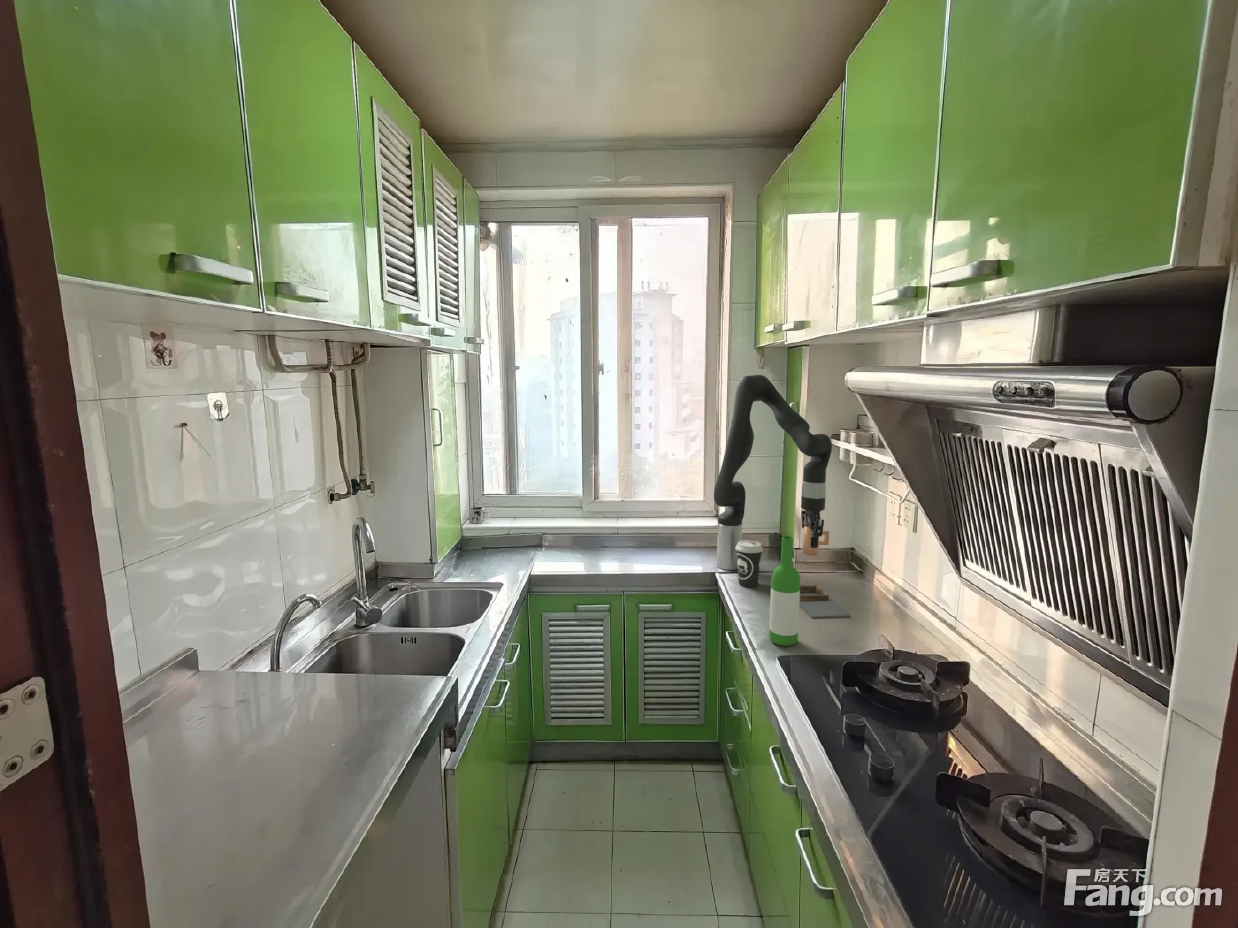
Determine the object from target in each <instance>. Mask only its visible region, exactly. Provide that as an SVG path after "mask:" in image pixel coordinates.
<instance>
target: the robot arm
mask: <svg viewBox="0 0 1238 928" xmlns="http://www.w3.org/2000/svg"><path fill="white" fill-rule="evenodd" d="M733 402H734V404H733V412H732V418H731V422H730V428H729V431H728V437H727V440H726V445H725V451H724V455H723V458H722V459H723V460H722V464H721V467H720V471H719V474H718V476H717V480H716V483H715V485H714V490H713V501H714V503H715V505H716V506H718V507H720V508H725V507H727V508H726V510H725V511H723V512H722V513H720V514H718V516H717V541H716V544H717V545H716V546H717V547H716V567H717V568H718V569H722V570H728V571H731V570H732V571H735V570H738V561H737V550H736V549H735V548H736V545H737V544H738V542H739V541H743V540H742V537H743V519H744V517H745V511H746V510H745V509H746V508H745V507H746V497H747V496H746V489H745V486H744V485H743V482H740V481H738V480H737V481H734V479H735V476H736V474H737V473H738V471H739V470H740V469H741V468H742V466H744V464H745V463H746V461H747V460H748V459H749V457H750V456H751V452H752V449H753V444H754V442H755V441H754V440H755V433H754V430H753V427H752V422H751V411H752V407H753V404H754V403H755V402H762V403H764V404H765V405H766V406H768V407H769V408H770V409H771V411H772V413H773V415H774V417H775V421H776V422H777V424H778V425H779V427H780V428H781V429H782V430H783V431H784V432H785V433H787V435H788V436H789V437H791V438H792V441H793V442H794V444H795V446H796V447H797V449H798V450H799V451H800V452H801V453H802V454H803V455H805V456H807V457H810V460H809V462H807V463H805V465H804V466H803V470H802V471H803V476H802V484H801V485H802V486H801V498H800V503H801V504H800V508H801V509H802V510H801V513H800V514H801V527H802V529H804V526H809V529H810V530H811V547H812V548H817V547H818V537H819V538H820V537H822V536H823V535H822V532H823V531H824V526H825V525H824V524H825V519H821V518H822V517H821V512H822V511H825V510H826V497H827V496H826V494H827V486H826V481H827V480H826V479H827V478H826V477H827V469H828V464H829V462H830V458H831V454H832V451H833V444H832V440H831V438H830V437H829V435H827V434H825V433H816V434H813V433H811V432H810V428H811V427H810V424H809V423H808V421H807V420H806V419H804V418H803V417H802V416H801V415H800V414H799V413H798V412H796V410H795V409H794V408H792V406H791V405H790V404H789V403H788V402H787V401H786V400H785V398H784V397H783V396H782V394H781V393H780V392H779V391H778V390H777V388H776V387H775V385H774V384H773V383H772V382H771V381H770V380H769V378H767V377H766V376H765V375H763V374H755V375H754V374H752V375H744V376H742V377H740V378H739V380H738V382H737V385H736V388H735V394H734V401H733ZM812 526H814V527H812ZM813 530H814V531H813ZM819 530H820V532H819Z"/></svg>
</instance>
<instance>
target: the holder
mask: <svg viewBox="0 0 1238 928" xmlns="http://www.w3.org/2000/svg"><path fill="white" fill-rule="evenodd" d="M800 591H816V592H817V594H804V595H802V594H801V593H800V601H799V602H806V601H829V598H830V596H829V594H828V593H827V592H826V591H825V590H824V589H822V588H821V587H820V586H819V585H818V584H817V585H816V584H814V585H813V584H812V585H811V584H810V585H800ZM816 592H815V593H816Z"/></svg>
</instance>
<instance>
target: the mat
mask: <svg viewBox="0 0 1238 928" xmlns="http://www.w3.org/2000/svg"><path fill="white" fill-rule="evenodd" d="M799 605H800V606H799V608H801V609H802V610H803V611H804V612H805V613H806V614H807V615H808V616H809V617H810V618H811V619H829V618H833V619H834V618H850V617H851V615H850V614H849V613H848V612H847V611H846V610H844V608H842V607H841V606H840V605H839V604H838V603H837V602H836V601H834V600H828V601H806V602H799Z"/></svg>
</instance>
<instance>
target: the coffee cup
mask: <svg viewBox="0 0 1238 928" xmlns="http://www.w3.org/2000/svg"><path fill="white" fill-rule="evenodd" d="M735 549H736V550H737V561H738V569H737V575H738V576H737V577H738V585H739V586H741V587H743V588H756V587H757V586H758V584H759V574H760V567H761V561H762V560H761V559H762V553H763V551H764V548H763V546H762V543H761V542H759V541H757V540H748V539H747V540H742V541H739V542H738V544H737V545H736V548H735Z"/></svg>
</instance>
